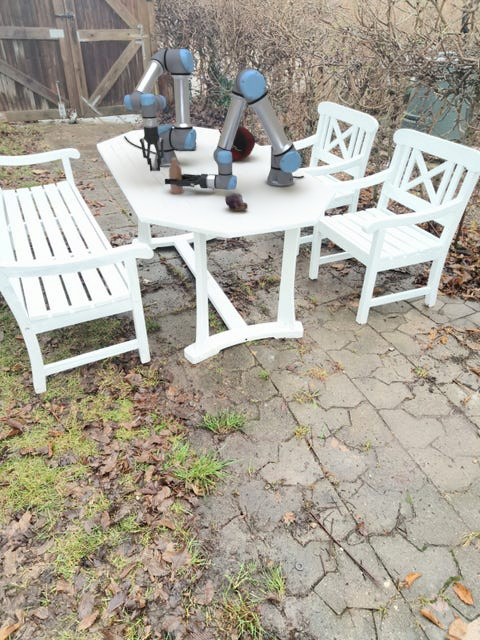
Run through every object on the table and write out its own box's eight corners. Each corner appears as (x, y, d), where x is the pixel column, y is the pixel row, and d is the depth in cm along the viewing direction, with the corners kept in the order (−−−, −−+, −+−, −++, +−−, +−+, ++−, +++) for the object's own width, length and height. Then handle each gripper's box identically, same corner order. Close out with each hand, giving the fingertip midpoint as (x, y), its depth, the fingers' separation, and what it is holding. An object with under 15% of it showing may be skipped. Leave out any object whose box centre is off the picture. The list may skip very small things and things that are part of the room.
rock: (239, 207, 231) (221, 210, 227) (238, 190, 228) (220, 192, 223) (250, 210, 222) (232, 213, 218) (249, 193, 218) (231, 195, 214)
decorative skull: (216, 132, 306) (216, 129, 283) (250, 124, 306) (252, 120, 282) (223, 164, 313) (223, 164, 290) (256, 156, 312) (259, 156, 289)
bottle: (175, 189, 252) (172, 156, 242) (185, 190, 250) (182, 157, 240) (168, 192, 247) (165, 159, 237) (179, 194, 245) (176, 161, 235)
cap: (151, 171, 251) (151, 168, 250) (151, 169, 255) (151, 166, 254) (158, 171, 252) (158, 167, 251) (158, 169, 255) (158, 165, 254)
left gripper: (133, 127, 237) (139, 172, 250) (165, 127, 237) (169, 172, 250) (136, 124, 244) (141, 168, 257) (167, 124, 243) (171, 168, 256)
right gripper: (203, 194, 236) (162, 191, 240) (212, 182, 252) (173, 180, 256) (202, 180, 232) (160, 177, 235) (212, 169, 248) (172, 167, 251)
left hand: (155, 170), depth 253 cm, fingers closed on cap, 4 cm apart
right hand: (167, 179), depth 245 cm, fingers closed on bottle, 7 cm apart
